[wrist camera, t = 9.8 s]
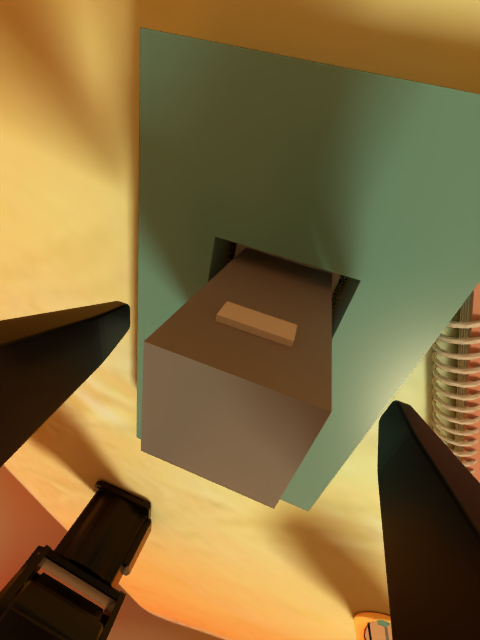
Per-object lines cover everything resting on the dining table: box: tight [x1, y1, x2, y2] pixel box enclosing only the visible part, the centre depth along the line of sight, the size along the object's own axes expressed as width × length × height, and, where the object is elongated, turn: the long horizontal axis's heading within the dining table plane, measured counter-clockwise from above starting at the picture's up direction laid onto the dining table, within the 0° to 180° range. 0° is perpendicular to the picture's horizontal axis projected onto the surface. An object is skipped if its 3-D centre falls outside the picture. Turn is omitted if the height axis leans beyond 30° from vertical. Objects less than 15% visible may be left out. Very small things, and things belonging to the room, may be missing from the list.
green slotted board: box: [137, 27, 480, 511], centre depth 13 cm, size 12×20×2 cm, turn 168°
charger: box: [141, 248, 332, 509], centre depth 10 cm, size 4×4×8 cm
